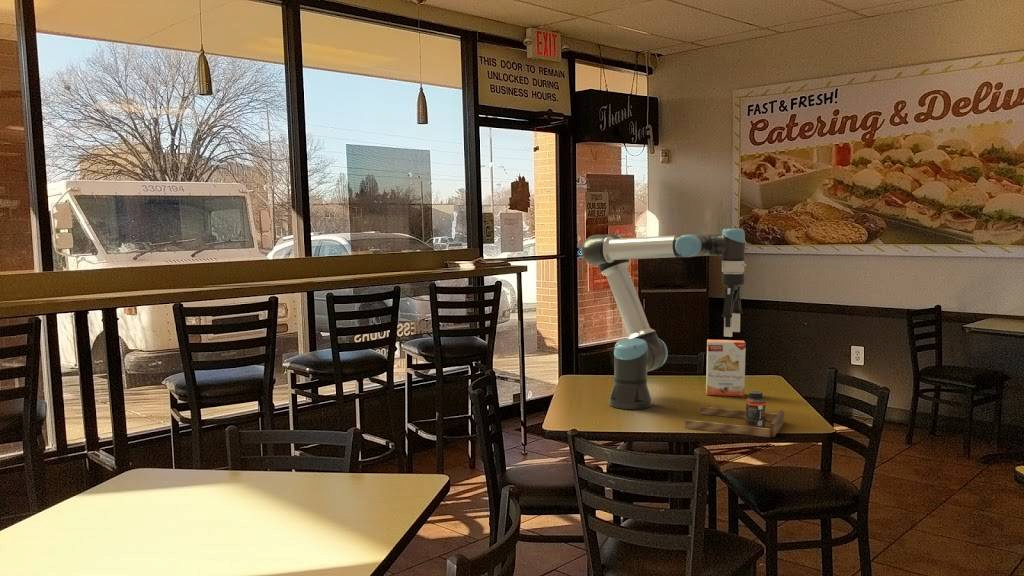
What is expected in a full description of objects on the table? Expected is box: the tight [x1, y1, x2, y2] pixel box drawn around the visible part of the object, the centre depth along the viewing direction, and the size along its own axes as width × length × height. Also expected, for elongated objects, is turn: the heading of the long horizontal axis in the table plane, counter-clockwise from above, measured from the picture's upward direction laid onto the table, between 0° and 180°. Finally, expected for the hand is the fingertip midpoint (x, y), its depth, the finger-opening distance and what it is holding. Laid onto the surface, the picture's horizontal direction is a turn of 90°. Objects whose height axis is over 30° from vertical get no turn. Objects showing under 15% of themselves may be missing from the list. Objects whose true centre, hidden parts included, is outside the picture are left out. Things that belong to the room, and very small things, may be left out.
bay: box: [684, 405, 785, 438], centre depth 255 cm, size 27×22×4 cm
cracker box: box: [705, 339, 747, 397], centre depth 301 cm, size 14×6×21 cm, turn 80°
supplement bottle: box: [745, 390, 766, 428], centre depth 252 cm, size 6×6×11 cm
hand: (732, 334), depth 275 cm, fingers open, 13 cm apart
